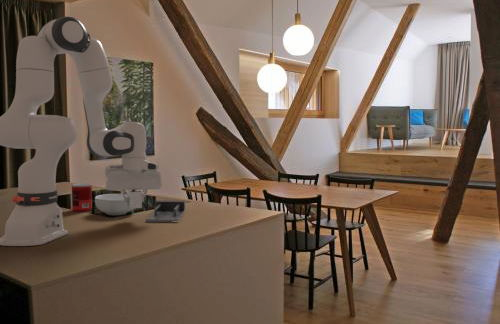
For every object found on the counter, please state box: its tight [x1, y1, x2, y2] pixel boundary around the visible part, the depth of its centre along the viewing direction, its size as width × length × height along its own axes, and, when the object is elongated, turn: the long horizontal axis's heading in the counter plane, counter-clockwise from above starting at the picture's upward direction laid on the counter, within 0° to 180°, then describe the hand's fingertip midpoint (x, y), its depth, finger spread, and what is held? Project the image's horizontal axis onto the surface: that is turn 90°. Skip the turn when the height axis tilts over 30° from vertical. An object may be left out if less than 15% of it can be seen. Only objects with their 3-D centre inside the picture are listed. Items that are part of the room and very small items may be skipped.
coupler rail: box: [145, 199, 186, 223], centre depth 185 cm, size 22×12×4 cm, turn 1°
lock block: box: [126, 190, 143, 209], centre depth 175 cm, size 7×4×7 cm, turn 24°
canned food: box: [71, 182, 93, 213], centre depth 195 cm, size 8×8×11 cm
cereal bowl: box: [94, 193, 135, 216], centre depth 189 cm, size 17×17×7 cm
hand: (134, 201), depth 175 cm, fingers closed on lock block, 4 cm apart
